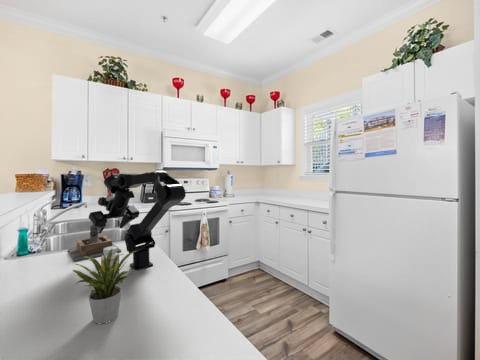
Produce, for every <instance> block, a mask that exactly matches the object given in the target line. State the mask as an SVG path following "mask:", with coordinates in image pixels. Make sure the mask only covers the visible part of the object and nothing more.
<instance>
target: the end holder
mask: <svg viewBox="0 0 480 360" xmlns="http://www.w3.org/2000/svg"><path fill="white" fill-rule="evenodd" d="M98 238H99V240H102V242H97V243H92V244H87V242H88V241H90V237H89V238H83V239H82V238H81V239H77V240H76V247H70V248H68V250H67V251H68V252H69V254H70V256H71V258H72V259H73V261H74V262H75V263H76V262H81V261H85V260H89V259H88V258H87V257H84V256H88V257H91V258H94V259H96V258H98V257H102V255H103V254H104V253H103V249H104V248H106V247H111V246H115V247H117V253H118V254H119V253H121V252H122V249H120V248H119V247H118V246H117V245H116V244H114V243H113V240H112V239H111V238H109V237H108V236H107V235H101V236H98Z"/></svg>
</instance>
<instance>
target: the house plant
mask: <svg viewBox="0 0 480 360" xmlns="http://www.w3.org/2000/svg"><path fill="white" fill-rule="evenodd" d="M112 250H113V249H111V250H110V251H109V253H108V256H107V259H106V256H105V255H104V254H103V256H104V268H105V272H104V271H103V269H102V267H101V264H100V262H99V261H98V260H97V259H96V258H91V257H88V256H84V257H87V258H88V259H87V260H89V261H90V262H91V263H93V265H94V267H95V269H96V271H95V270H94V271H93V270H91V269H89V268H88V267H87V266H84V265H82V264H78V263H74V265H75V266H76V265H77V266H78V267H81V268H83V269H85V270H86V272H89V273H90V275H88V274H86V273H84V272H82V271H81V270H76V269H72V272H74V273H75V274H76V275H77V276H78V277H79V278H80V279H81V280H78V281H77V282H76V283H75V285H76V284H79V283H86V285H85V284H84V287H93V289H92V290H91V291H90V293H89V294H88V303H89V306H90V309H91V315H92V319H93V322H94V323H95V324H96V323H105V324H107V323H106V322H108V323H110V322H109V321H111V322H113V321H114V320H115V319H117V318H118V316H119V311H120V303H121V297H122V287H121V286H119V285H117V284H119V283H120V284H121V285H123V282H124V280H126V279H127V278H129V276H127V275H125V274H128V273H130V274H131V272H130V271H127V270H123V271H121V269H122V268H123V267H124V266H125V264H126V263H127V261H126V259H127V258H129V257H130V256H131V255H133V253H134V252H136V251H133V252H131V253H129V252H128V254H125V256H124V257H122V259H121V260H120V261H119V265H118V267H117V269H116V271H115V273H114V269H115V265H116V261H117V259H118V257H119V258H120V256H123V255H124V253H122V254H119V253H118V255H119V256H118V255H116V257H115V259H114V262H113V265H111V266H110V261H111V257H112ZM137 251H138V250H137ZM125 261H126V262H125ZM120 271H121V272H120ZM118 272H119V275H118V276H117V277H116V275H117V274H118ZM91 275H92V276H93V277H94V278H93V277H92V276H91ZM114 318H115V319H114ZM113 319H114V320H113Z"/></svg>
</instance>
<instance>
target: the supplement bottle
mask: <svg viewBox="0 0 480 360" xmlns="http://www.w3.org/2000/svg"><path fill="white" fill-rule="evenodd" d="M115 246H116V245H115ZM115 246H111V247H106V248H104V249H103V253H104V255H105V256H106V259H107V256H108V253H109V251H110V250H111V249H113V250H112V257H111V261H110V266H111V265H113V262H114V259H115V257H116V255H118V254H119V253H117V247H118V246H117V247H115ZM119 255H120V254H119ZM119 255H118V256H119ZM100 257H101V258H100V259H101V261H100V263H101V264H100V265H101V267H102V269H103V271H104V272H105V268H104V256H103V255H102V256H100ZM119 263H120V256H119V257H118V259H117V261H116V265H115V269H114V273H115V271H116V269H117V267H118V265H119ZM119 274H120V271H119V272H118V274H117V275H116V277H117V276H118V275H119ZM116 277H115V278H116Z"/></svg>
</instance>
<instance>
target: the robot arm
mask: <svg viewBox="0 0 480 360" xmlns="http://www.w3.org/2000/svg"><path fill="white" fill-rule="evenodd" d="M162 183H163V184H164V185H163V184H162ZM103 184H104V186H105V187H106V188H107V190H109V193H111V194H112V195H114V196H107V197H104V196H101V197H100V196H99V198H98V200H97V205H98V206H101V207H105V210H106V211H107V212H108V213H103V211H102V210H97V211H96V210H95V211H92V212H89V215H88V219H89V221H90V222H91V223H92V225H93V224H94V225H95V226H97V228H98V235H100V234H102V233H103V232H104V229H105V228H106V226H107V223H108V220H112V219H117V218H121V221H120V224H119V229H123V228H124V227H125V226H126V225H128V224H130V223H131V222H133V220H135V219H137V218H139V216H140V214H141V213H140V211H139V210H138V209H137V208H136V207H135V206H134V204H133V205H132V204H131V205H129V203H130V199H134V198H135V194H134V192H133V190H131V189H136V188H140V187H141V185H145V184H153V190H154V192H155V194H156V201H155V203H154V205H152V207H151V208H150V210H149V211H148V212H147V213H146V214H145V216H144V217H143V219H142V220H141V221H140V222H138V223H133V224H131V225H130V226H129V228H128V229H127V230H126V231H125V232H126V233H125V236H124V243H125V246H126V252H128V254H129V253H131V252H133V251H136V252H134V253H132V263H129V266H130V267H131V268H133V269H134V270H135V271H137V270H140V269H145V268H148V267H152V266H153V265H154V263H153V262H151V260H150V249H152V248H155V246H156V241H155V239H154V237H153V236H152V235H153V234H152V230H153V229H154V228H155V227H156V226H157V224H158V223H159V222H160V221H161V219H162V218H163V217H164V216H165V215H166V213H167V212H168V211H169V209H171V208H172V207H174V206H176V205H179V204H180V203H181V202H182V201H183V200H185V198H186V189H185V186H183V185H182V184H181V183H180V181H179V180H177V179H175V178H174V177H172V176H171V175H169V173H168V172H167V171H165V170H154V171H150V172H143V173H119V174H118V173H115V172H112V173H111V174H110V175H108V176H107V177H106V178H105V179H104V180H103ZM137 250H138V251H137Z"/></svg>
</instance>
